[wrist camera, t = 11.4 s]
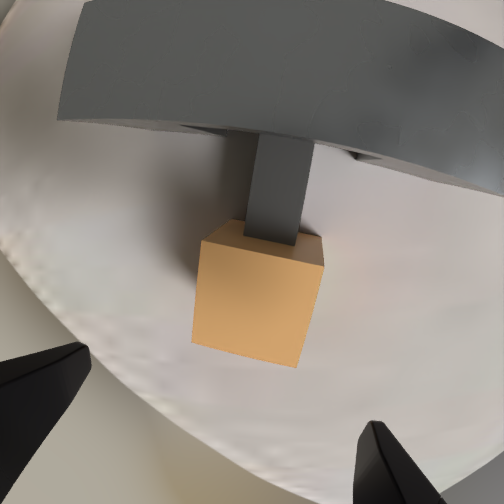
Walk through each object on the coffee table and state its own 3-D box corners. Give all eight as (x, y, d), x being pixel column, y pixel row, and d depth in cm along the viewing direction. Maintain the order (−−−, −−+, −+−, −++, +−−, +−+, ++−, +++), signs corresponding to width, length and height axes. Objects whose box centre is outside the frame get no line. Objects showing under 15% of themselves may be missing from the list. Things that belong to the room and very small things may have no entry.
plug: (280, -53, 12) (268, -100, 7) (361, -42, 11) (369, -89, 7) (219, 310, 19) (190, 355, 14) (298, 329, 18) (292, 380, 14)
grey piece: (167, 51, 15) (84, 2, 8) (444, 96, 13) (525, 61, 6) (153, 130, 17) (57, 119, 9) (433, 181, 15) (515, 200, 7)
